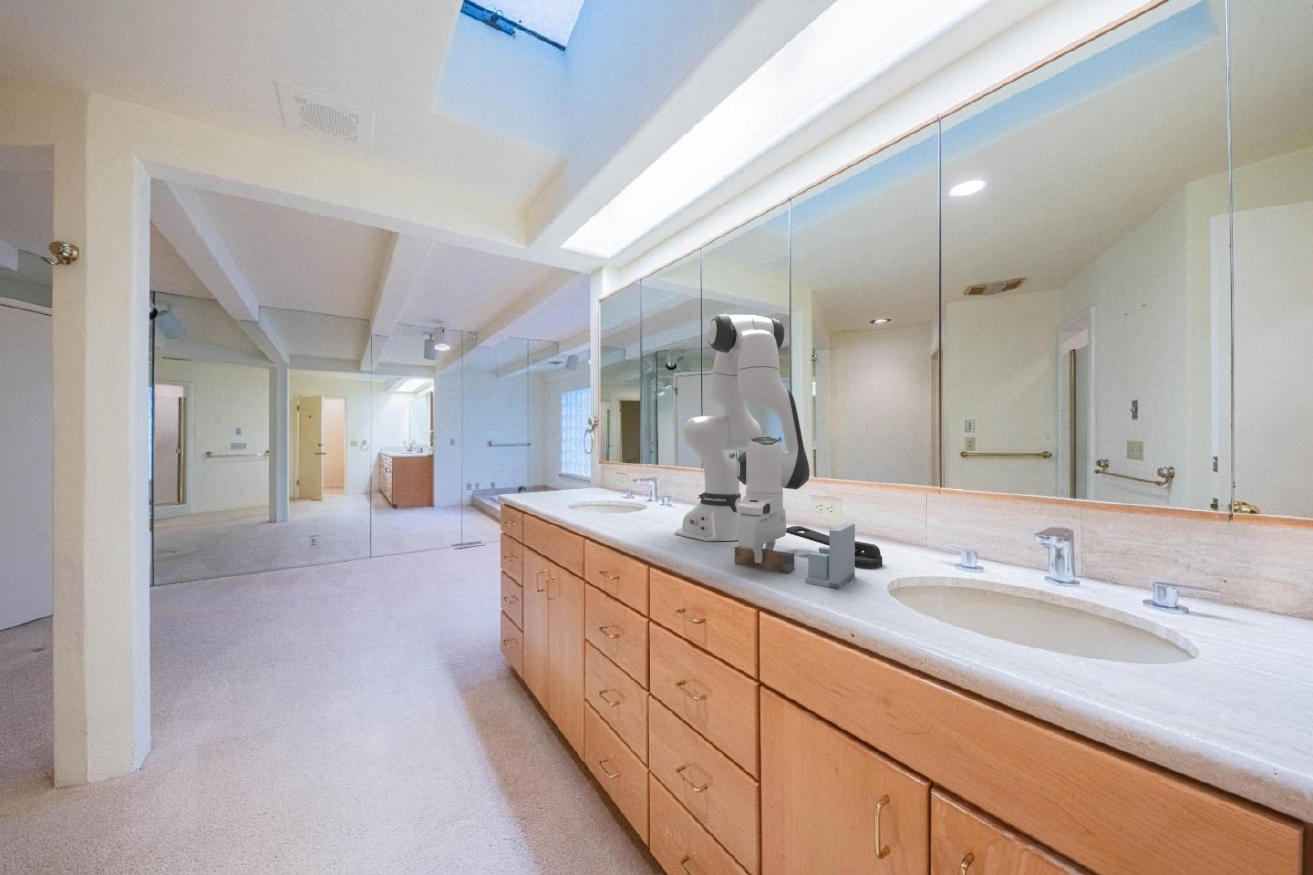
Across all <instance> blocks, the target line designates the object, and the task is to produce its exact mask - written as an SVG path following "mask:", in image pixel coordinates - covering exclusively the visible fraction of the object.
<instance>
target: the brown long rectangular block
mask: <svg viewBox="0 0 1313 875" xmlns="http://www.w3.org/2000/svg"><path fill="white" fill-rule="evenodd" d="M762 554H763V555H764V562H762V563H757V562H755V555H754V552H753V549H752V548H746V547H741V546H740V545H738V546H735V547H734V564H735V565H741V566H746V567H751V568H756V569H762V570H766V569H767V571H771V570H772V572H777V571H778V572H777V573H782V572H783V574H787V575H789V574H790V573H793V572H794V571H795V553H792V552H785V551H781V550H780V551H779V550H775V549H773V550H768V549H765V548H763V549H762ZM792 571H793V572H792Z"/></svg>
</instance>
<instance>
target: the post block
mask: <svg viewBox="0 0 1313 875" xmlns="http://www.w3.org/2000/svg"><path fill="white" fill-rule="evenodd" d="M828 534H829V535H828V536H829V546H827V547H826V546H820V547H818V552H814V551H810V552H808V555H807V556H808V557H807V577H805V583H806V584H811V585H817V586H821V587H826V588H830V589H831V588H832V589H837V590H839V589H841V588H842V587H844V586H845V585H846V584H847V583H849V582H850V581H851V580H852V579H853V578H854V577H855V575H856V574H855V573H856V571H855V570H856V569H855V568H856V567H855V541H856V523H852V522H845V523H842V524H840V525H837V526H836V527H833V528H831V529H829V533H828Z"/></svg>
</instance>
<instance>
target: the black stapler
mask: <svg viewBox="0 0 1313 875" xmlns="http://www.w3.org/2000/svg"><path fill="white" fill-rule="evenodd" d="M786 534H789V535H793V536H796V537H799V538H803V539H806V540H809V541H813V542H814V543H815V542H816V543H819V544H822V545H825V546H827V547H829V535H828V534H825V533H822V532H819V531H816V530H813V529H810V528H807V527H804V526H802V525H794V526H793V525H792V526H789V527H786ZM882 567H883V556H882V555H881V550H880V547H878V546H877V545H876V544H873V543H870V542H864V541H858V540H857V541H856V540H855V568H858V569H865V570H875V569H880V568H882Z"/></svg>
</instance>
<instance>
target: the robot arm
mask: <svg viewBox="0 0 1313 875" xmlns="http://www.w3.org/2000/svg"><path fill="white" fill-rule="evenodd" d="M707 331H708V332H707V339H708V344H709V346H710V347H711V349H713V350H714V351H716V353H715V357H714V361H713V366H712V367H713V368H712V374H711V385H710V397H711V399H712V400H713V401H714V402H715V403H716V404H718V405H719V406H721V407H723V412H724V413H723V415H698V416H694V417H691V418H689V419H687V421H686V423H685V425H684V427H683V428H684V429H683V438H684V441H685V442H686V444H687V445H688V446H689V447H690V448H691V449H692V450H694V452H696V454H697V455H698V457H699V459H700V460H701V463H702V467H703V473H704V492H702V493H701V494H698V495H697V496H698V497H697V499H700V501H699V504H697V505H696V506H694V507H693V508H692V509H691V510H690V511H688V512H686V514H685V515H684V517H683V520H682V526H681V527H680V528H677V529H676V530H675V533H674V534H675V535H677V536H682V537H687V538H691V539H696V540H700V541H705V542H718V541H719V542H720V541H721V542H727V541H731V542H732V541H738V544H739V546H741V547H746V548H752V549H753V552H754V555H755V562H757V563H762V562H764V555H763V554H762V549H768V550H775V549H774V548H775V545H776V540H777V539H781V538H784V537H785V536H786V534H787V533H786V528H787V516H786V510H785V508H784V490H783V489H790V490H799V489H800V488H802V486H804V485H805V484H806V483H807V482H808V481H809V479H810V475H811V474H810V471H811V470H810V465H809V461H808V457H807V453H806V449H805V446H804V440H803V435H802V430H801V425H800V424H801V423H800V419H799V414H798V410H797V406H796V405H797V404H796V401H795V399H794V395H793V393H792V392H791V391H790V390H789V389H786V387H785V385H784V383H783V381H782V378H781V374H780V356H779V350H780V349H781V347H782V346H783V344H784V342H785V341H784V340H785V328H784V326H783V323H782V322H781V321H780V320H779V319H776V318H773V317H769V316H768V317H766V316H760V315H755V314H731V315H730V314H728V313H723V314H719V315H718V314H717V315H716V316H714V317H713V318H712V320H711V321H710V324H709V326H708V330H707ZM747 401H748V402H749V403H750V404H753V405H754V406H757V407H760V408H763V409H765V410H768V411H769V412H771V413H773V414H775V415H776V416H777V417H778V418H779V421H781V426H782V432H783V437H784V442H785V450H783V448H782V444H781V441H780V440H779V439H777V438H773V437H767V436H762V428H761V426H760V424H759V421H757V420H756V419H755V418H754V417H753V416H752V415H751V413H750V410H749V408H748V403H747ZM724 450H725V451H729V450H730V451H731V450H732V451H743V450H747V451H744V452H742V454H740V455H739V456H738V457H737V459H736V460H737V465H736V464H735V463H733V462H731V461H729V460H727V458H726V456H725V453H724ZM740 482H741V483H742V484H743V485H744V486H746V488H745V496H743V499H742V496H741V493H740ZM764 545H765V548H764Z"/></svg>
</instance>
